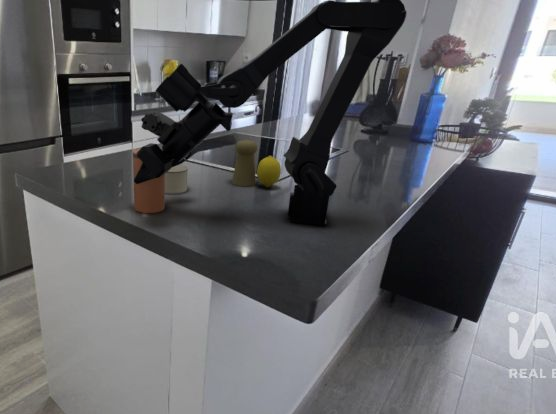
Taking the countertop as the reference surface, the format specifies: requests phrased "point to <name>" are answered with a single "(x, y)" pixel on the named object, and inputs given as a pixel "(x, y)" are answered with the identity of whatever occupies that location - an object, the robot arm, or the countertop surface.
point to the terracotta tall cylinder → (148, 191)
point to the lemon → (268, 171)
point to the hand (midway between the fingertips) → (143, 177)
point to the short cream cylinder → (176, 180)
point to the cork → (245, 163)
